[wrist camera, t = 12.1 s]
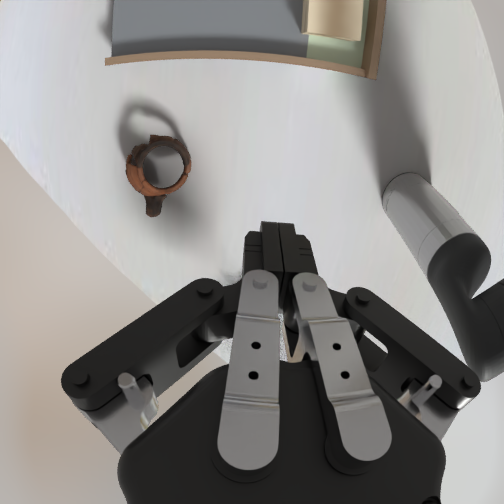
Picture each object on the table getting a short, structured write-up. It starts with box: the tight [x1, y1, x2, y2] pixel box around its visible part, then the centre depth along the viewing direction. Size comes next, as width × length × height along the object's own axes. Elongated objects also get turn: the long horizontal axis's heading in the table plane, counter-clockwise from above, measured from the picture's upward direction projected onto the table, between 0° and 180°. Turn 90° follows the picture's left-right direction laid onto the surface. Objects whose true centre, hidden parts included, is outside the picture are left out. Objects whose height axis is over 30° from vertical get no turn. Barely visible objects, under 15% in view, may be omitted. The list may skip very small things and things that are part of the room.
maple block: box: [301, 0, 363, 41], centre depth 25 cm, size 6×6×4 cm
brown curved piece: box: [126, 135, 191, 217], centre depth 42 cm, size 12×10×8 cm
